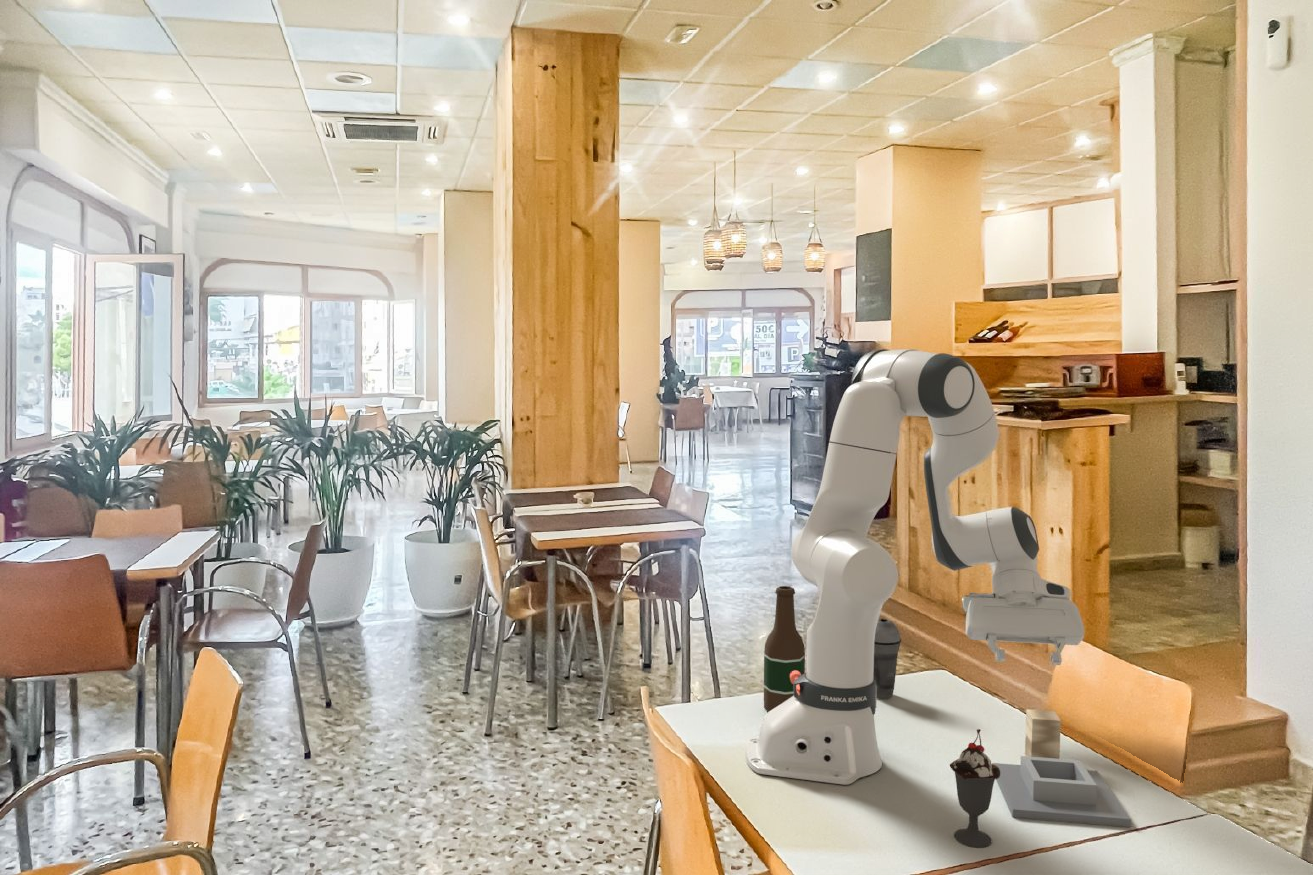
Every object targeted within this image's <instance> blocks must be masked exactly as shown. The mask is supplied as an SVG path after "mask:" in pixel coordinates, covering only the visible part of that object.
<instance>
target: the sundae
mask: <svg viewBox="0 0 1313 875" xmlns="http://www.w3.org/2000/svg"><path fill="white" fill-rule="evenodd" d="M980 732H981V729H979V728H977V729H976V733H977V734H976V735H977V736H976V738H975V739H974V741H973V742H969V743H968V745H967V748H965V749H964V750H962V751H961V753H960V755H959V758H958V759H955V760H953V761H952V762H951V763H950V764H949V767H950V768H951V770H952V771H953V772H954V777H955V784H956V792H957V794H956V795H957V800H958V804H959V806H960V808H962V810H963V811H964V812H966V814H968V825H967V828H960V829H957V830H956V831H955V832H954V833H953V834H954V836H953V837H954V838H955V839H956V841H957V842H959V843H961V844H962V845H964V846H967V847H971V848H986V847H989V846H990V845H991V844H993V843H992V842H993V841H992V838H991V836H990V835H988V834H987V833H986V832H984V831H982V830H979V823H978V822H979V817H980V816H981V815H983V814H984V813H986V812H987V811H988V810H989V808H990V805H991V801H992V795H993V788H994V784H995V780H996V779H998V778H999V777H1000V769H999V768H998V767H997V766H996V765H993V764H992V760H991V759H990V757H989V756H988V755H987V754H985V747H984V746H982V738H981V734H980ZM978 738H979V744H978V745H977V744H976V742H977V740H978Z"/></svg>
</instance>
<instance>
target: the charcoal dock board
mask: <svg viewBox="0 0 1313 875" xmlns="http://www.w3.org/2000/svg"><path fill="white" fill-rule="evenodd" d="M991 764H993V765H996V766H997V767H998V768H999V769H1000V777H999V778H998V779H995V780H996V782H997V784H998V787H999V790H1000V792H1001V794H1002V797H1003V798H1004V801H1005V803H1006V806H1007V808H1008V810H1009V813H1010V815H1011V817H1012V818H1018V819H1029V820H1040V821H1041V820H1042V821H1053V822H1054V821H1055V822H1062V823H1063V822H1064V823H1065V822H1066V823H1074V824H1076V823H1078V824H1089V825H1101V826H1111V827H1112V826H1113V827H1121V828H1124V827H1125V828H1131V822H1132V821H1131V817H1130V816H1129V815H1128V813H1127V811H1126V810H1125V809H1124V808H1123V806H1122V804H1121V803H1120V802H1119V800H1118V799H1117V797H1116V796H1115V794H1114V793H1113V792H1112V790H1111V789H1110V787H1109V786H1108V785H1107V783H1106V781H1105V780H1104V779H1103V777H1102V775H1101V774H1100V773H1099V772H1098V770H1092V769H1090V770H1089V769H1086V766H1084V763H1082V761H1081V760H1078V759H1066V758H1064V759H1063V758H1060V759H1056V758H1042V757H1028V756H1025V755H1020V764H1013V763H1012V764H1011V763H999V762H991Z"/></svg>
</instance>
